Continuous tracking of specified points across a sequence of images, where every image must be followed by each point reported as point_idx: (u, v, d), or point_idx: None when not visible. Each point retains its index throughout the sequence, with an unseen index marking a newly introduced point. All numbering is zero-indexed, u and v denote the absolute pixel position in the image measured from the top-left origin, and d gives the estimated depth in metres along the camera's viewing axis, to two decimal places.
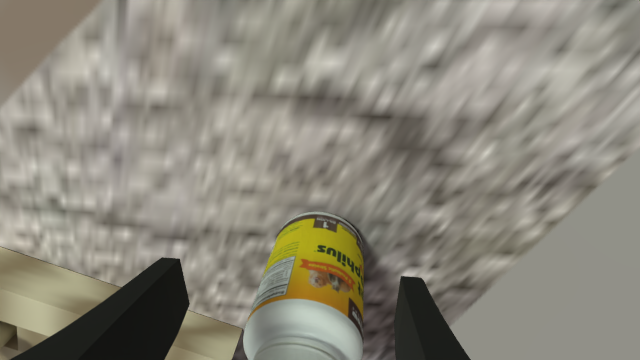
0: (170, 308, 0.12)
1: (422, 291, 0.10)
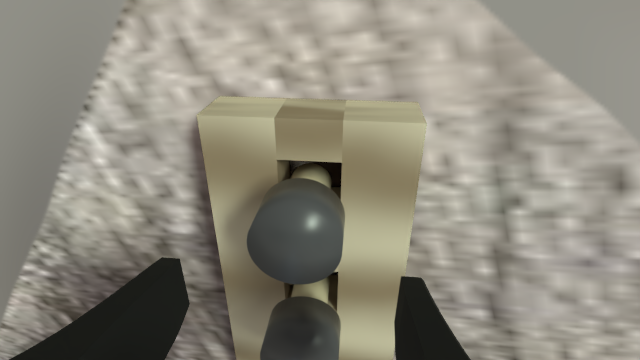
0: (170, 308, 0.12)
1: (422, 291, 0.10)
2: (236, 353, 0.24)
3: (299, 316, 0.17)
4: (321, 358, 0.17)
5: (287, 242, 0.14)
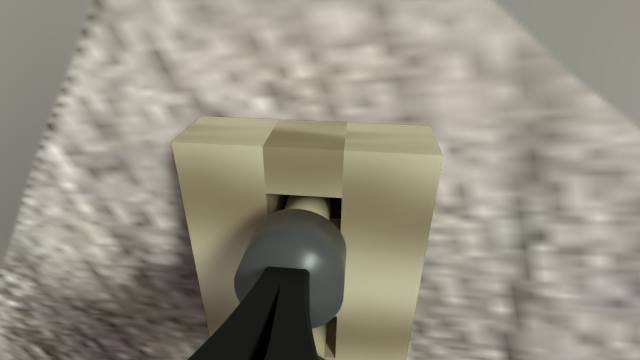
0: None
1: (299, 281, 0.11)
2: None
3: None
4: None
5: None
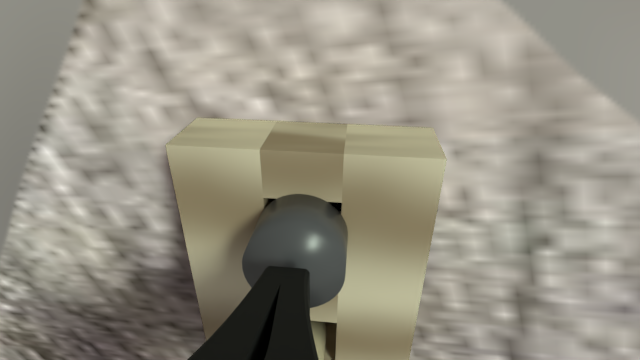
0: None
1: (299, 281, 0.11)
2: None
3: None
4: None
5: (286, 265, 0.13)
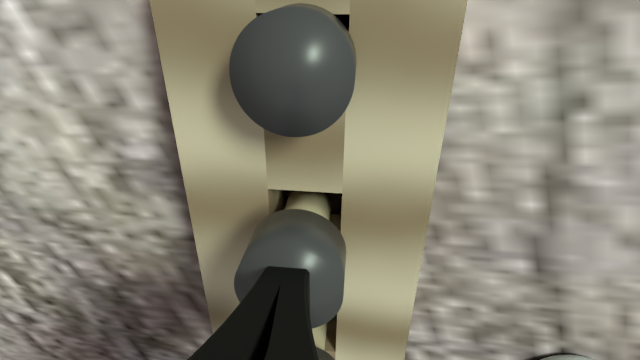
0: None
1: (298, 281, 0.11)
2: (210, 314, 0.19)
3: (289, 229, 0.12)
4: (319, 286, 0.12)
5: (282, 68, 0.10)
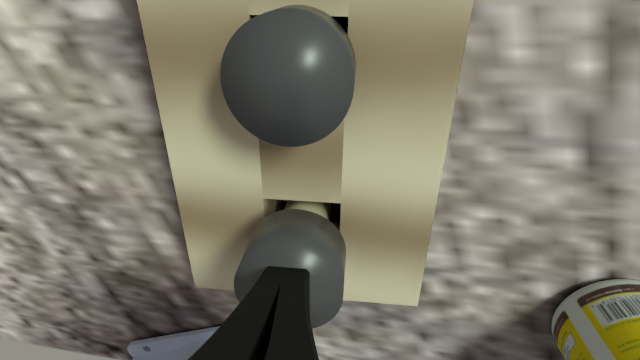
0: None
1: (299, 281, 0.11)
2: (182, 215, 0.15)
3: (288, 8, 0.10)
4: (325, 72, 0.10)
5: None
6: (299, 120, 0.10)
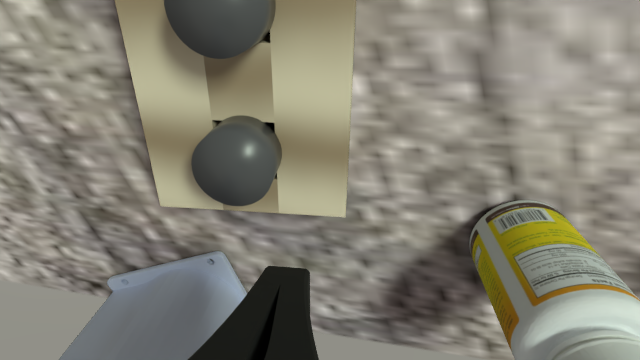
0: None
1: (299, 281, 0.11)
2: (146, 137, 0.18)
3: None
4: None
5: None
6: (224, 35, 0.14)
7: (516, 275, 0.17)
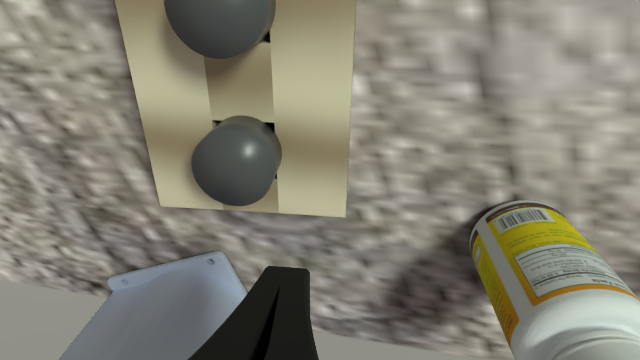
0: None
1: (299, 281, 0.11)
2: (146, 137, 0.18)
3: None
4: None
5: None
6: (224, 35, 0.14)
7: (516, 275, 0.17)
